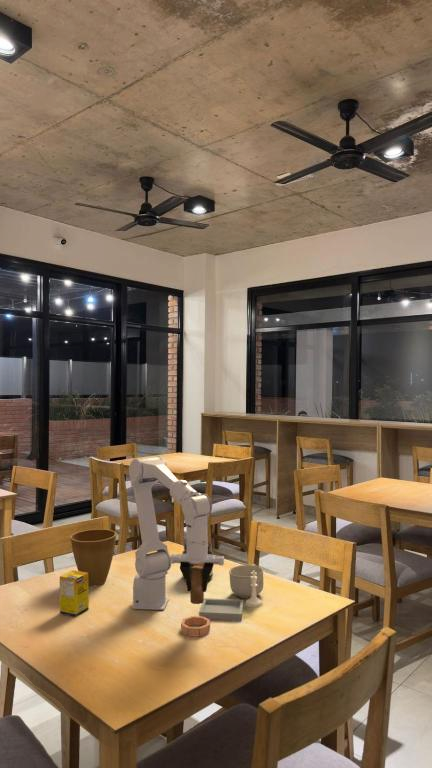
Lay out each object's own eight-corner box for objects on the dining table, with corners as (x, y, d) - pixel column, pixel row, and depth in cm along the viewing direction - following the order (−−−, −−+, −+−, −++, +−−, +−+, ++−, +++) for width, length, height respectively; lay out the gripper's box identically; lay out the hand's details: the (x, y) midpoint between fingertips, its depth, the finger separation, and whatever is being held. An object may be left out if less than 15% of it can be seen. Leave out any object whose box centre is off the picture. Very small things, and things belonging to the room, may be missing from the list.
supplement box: (89, 609, 160) (89, 572, 160) (76, 617, 154) (75, 578, 154) (72, 606, 162) (72, 569, 162) (59, 613, 157) (59, 576, 157)
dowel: (189, 603, 146) (189, 570, 146) (191, 598, 149) (191, 565, 149) (202, 604, 145) (202, 570, 145) (204, 599, 149) (204, 566, 149)
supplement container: (216, 581, 182) (216, 546, 182) (185, 584, 180) (185, 548, 180) (209, 571, 192) (209, 537, 192) (179, 573, 190) (179, 539, 190)
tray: (199, 618, 154) (199, 612, 154) (203, 604, 163) (203, 598, 163) (241, 620, 152) (241, 613, 152) (243, 605, 162) (243, 599, 162)
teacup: (253, 604, 163) (253, 578, 163) (222, 597, 169) (222, 571, 169) (273, 589, 175) (273, 564, 175) (244, 583, 181) (244, 559, 181)
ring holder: (179, 635, 143) (179, 627, 143) (184, 622, 151) (184, 615, 151) (208, 636, 142) (208, 629, 142) (211, 624, 150) (211, 616, 150)
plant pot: (99, 571, 192) (99, 526, 192) (125, 582, 182) (125, 534, 182) (62, 582, 181) (61, 534, 181) (86, 594, 171) (86, 543, 171)
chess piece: (261, 607, 161) (261, 573, 161) (244, 606, 162) (244, 572, 162) (263, 601, 166) (263, 568, 166) (247, 599, 167) (247, 567, 167)
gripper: (167, 543, 144) (167, 594, 144) (222, 545, 142) (222, 597, 142) (172, 536, 151) (172, 585, 151) (224, 537, 149) (224, 587, 149)
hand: (197, 590), depth 147 cm, fingers closed on dowel, 4 cm apart
